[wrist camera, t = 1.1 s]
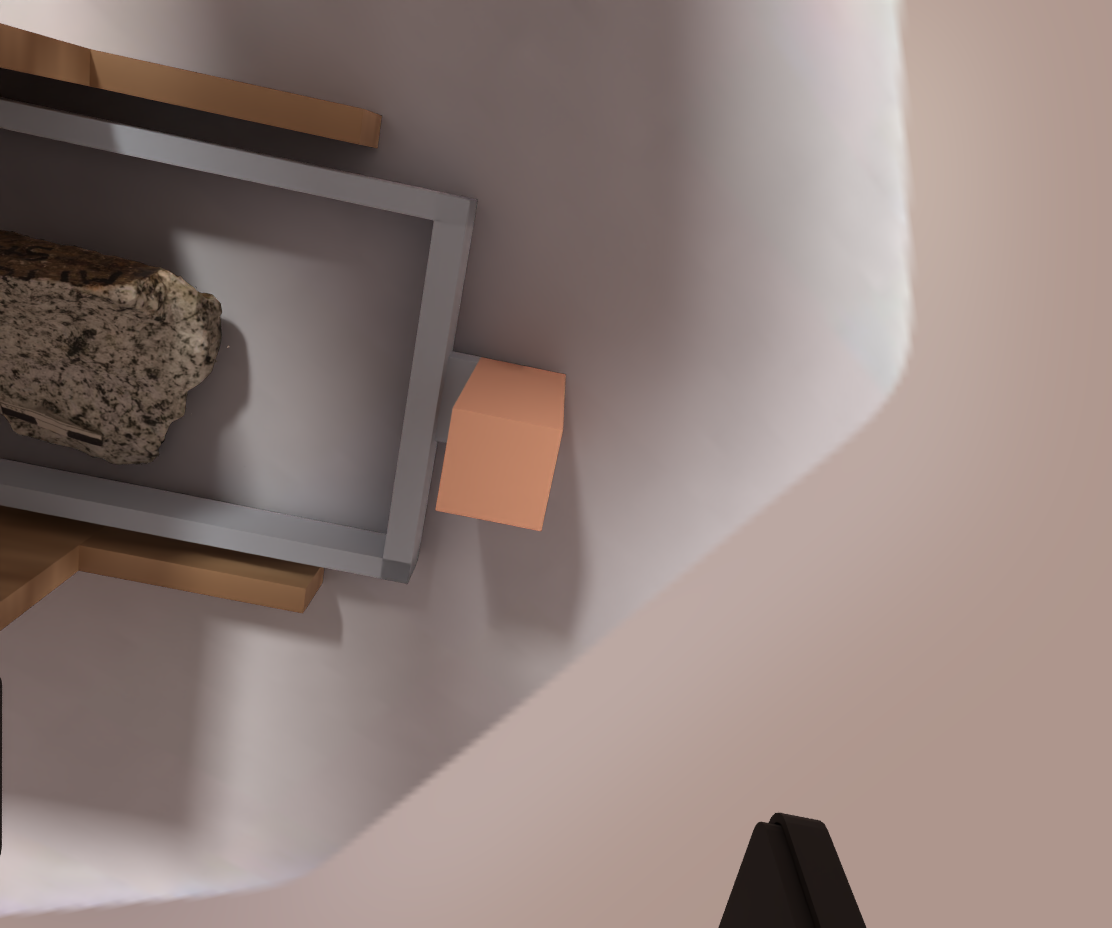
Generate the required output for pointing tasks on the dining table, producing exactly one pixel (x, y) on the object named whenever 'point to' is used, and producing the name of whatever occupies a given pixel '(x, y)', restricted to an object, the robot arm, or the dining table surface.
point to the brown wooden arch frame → (72, 545)
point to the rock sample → (98, 347)
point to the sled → (431, 409)
